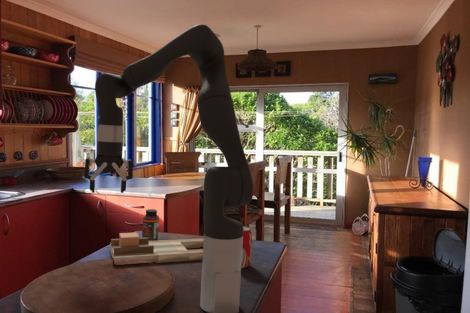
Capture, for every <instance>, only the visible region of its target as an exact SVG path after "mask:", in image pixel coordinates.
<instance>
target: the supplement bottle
mask: <svg viewBox="0 0 470 313" xmlns="http://www.w3.org/2000/svg"><path fill="white" fill-rule="evenodd" d="M159 226H160V217H159V215H158V210H157V209H155V208H154V209H153V208H149V209H146V210H145V215H143V217H142V227H141V228H142V229H141V238H149V241H158V239H159V228H160V227H159Z"/></svg>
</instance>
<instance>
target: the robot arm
mask: <svg viewBox="0 0 470 313" xmlns="http://www.w3.org/2000/svg"><path fill="white" fill-rule="evenodd" d="M184 56H189V57H190V58H191V59H192V61H194V62H195V64H196V66H197V67H198V70H199V73H200V77H201V81H202V82H201V88H200V91H199V93H198V97H197V111H198V115H199V116H198V117H199V123H200V126H201V128H202V129H203V131H204V132H205V134H206V135H207V136H208V138H209V139H210V140H211V141H212V142H213V144H215V146H216V147H217V148H218V149H219V150H220V152H221V153H222V155H223V157H224V159H225V162H226V165H227V166H211V167H209V168H208V169H207V170H206V172H205V175H204V179H203V215H202V216H203V238H204V242H203V248H202V249H203V260H201V277H200V279H201V280H200V281H201V282H200V300H199V302H200V304H199V306H200V308H201V310H203V311H205V312H206V313H239V311H240V310H239V309H240V297H241V296H240V294H241V277H242V274H241V272H242V268H241V261H242V245H243V226H244V225H243V223H242V222H241V221H239V220H236V219H234V218H231V217H228V216H226V215H225V212H224V207H238V206H246V205H249V204H250V203H251V202H252V199H253V197H254V196H253V195H254V182H253V176H252V173H251V169H250V166H249V162H248V160H247V157H246V153H245V151H244V147H243V144H242V140H241V137H240V132H239V127H238V122H237V117H236V111H235V105H234V100H233V97H232V94H231V93H232V92H231V89H230V85H229V81H228V78H227V70H226V59H225V49H224V46H223V43H222V42H221V40H220V38H219V37H218V36H217V34H215V32H214V31H213V30H212V29H211V28H210V27H209V26H208V25H206V24H203V23H200V24H195V25H194V26H191V27H189V28H188V29H186V30H185V31H183V32H181V33H180V34H179V35H178V36H176V37H175V38H173V39H171V40H170V41H169V42H167V43H166V44H164V45H163V46H162V47H160V48H159V49H158V50H156V51H154V52H153V53H151V54H150V55H148V56H146V57H144V58H141V59H139V60H137V61H135V62H133V63H131V64H129V65H127V66H126V67H124V69H123V73H122V74H118V75H117V74H113V73H109V72H103V73H100V74H99V75H98V77H97V78H96V80H95V84H94V91H95V96H96V97H95V98H96V102H97V106H98V111H99V113H98V126H97V127H98V128H97V135H96V136H97V137H96V156H95V159H94V158H89V157H86V158H85V160H84V162H85V163H84V170H83V171H84V172H83V178H84V179H86V180H89V190H90V191H91V193H92V194H93V193H94V194H95V192H96V191H95V190H96V188H95V187H96V186H95V185H96V180H95V179H96V178H97V177H98V176H99V175H100V174H101V173H102V174H115V173H117V174H118V175H119V177H120V178H121V180H120V193H121V194H124V192H125V191H126V190H127V181H128V180H132V179H133V178H134V177H133V176H134V174H133V172H134V171H133V169H134V168H133V166H134V164H133V160H132V159H125V160H124V159H123V145H124V126H123V125H124V124H123V123H124V110H123V108H122V107H121V106H118V103H117V99H123V98H126V97H127V96H130V95H131V94H132V93H134V92H136V90H138V89H139V88H141V87H143V86H146V85H149V84H151V83H152V82H155V81H156V80H158V79H160V77H162V75H164V73H165V72H166V70H168V68H169V67H170V65H171V64H172V63H173V61H174V62H175V60H177V59H179V58H182V57H184ZM93 164H95V165H96V166H97V168H96V169H95V170H94V172H93V173H92V174H89V172H90V167H91V166H92V165H93ZM123 165H125V167H126V168H127V175H125V174H124V172H123V171H122V170H121V169H120V168H121V167H122V166H123Z"/></svg>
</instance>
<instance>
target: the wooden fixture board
mask: <svg viewBox="0 0 470 313" xmlns="http://www.w3.org/2000/svg"><path fill="white" fill-rule="evenodd" d="M203 242H204V237H202V238H182V239H164V240H157V241H149V238H142V237H139V246H126V247H119V238H111V240H110V243H109V251H110V254H111V259H112V258H113V259H127V260H145V261H151V262H156V263H155V264H159V263H174V262H175V263H176V262H188V261H190V262H191V261H202V260H203V248H200V247H203ZM113 259H112V260H113Z"/></svg>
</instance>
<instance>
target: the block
mask: <svg viewBox="0 0 470 313" xmlns="http://www.w3.org/2000/svg"><path fill="white" fill-rule="evenodd" d="M118 234H119V237H118V239H119V247H126V246H139V238H140V236H139V233H138V232H119V233H118Z"/></svg>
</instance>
